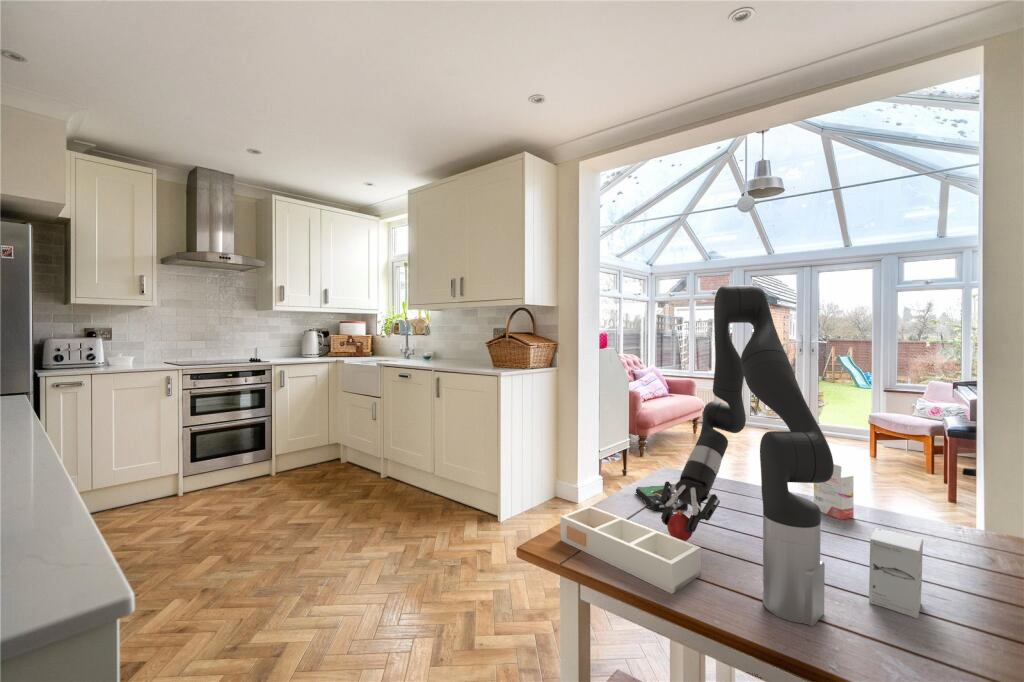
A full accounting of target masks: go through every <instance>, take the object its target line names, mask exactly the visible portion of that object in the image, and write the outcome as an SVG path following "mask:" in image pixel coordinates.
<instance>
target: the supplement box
mask: <svg viewBox="0 0 1024 682" xmlns="http://www.w3.org/2000/svg"><path fill="white" fill-rule="evenodd" d="M869 541H870V542H869V572H868V573H869V577H868V578H869V580H868V581H869V582H868V583H869V584H868V604H871V605H877V606H880V607H882V608H885V609H889V610H892V611H894V612H897V613H900V614H904V615H906V616H909V617H911V618H915V619H919V615H920V609H921V605H922V604H921V603H922V589H923V588H922V585H923V548H924V539H923V538H921V537H916V536H912V535H907V534H903V533H899V532H895V531H891V530H887V529H882V528H878V527H874V530H873V532H872V534H871V537H870V539H869Z"/></svg>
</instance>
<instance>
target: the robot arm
mask: <svg viewBox="0 0 1024 682" xmlns="http://www.w3.org/2000/svg"><path fill="white" fill-rule="evenodd" d="M713 303H714V305H713V320H714V321H713V323H714V324H713V325H714V331H713V332H714V350H715V352H714V353H715V354H714V355H715V356H714V357H715V362H714V363H715V365H714V373H713V374H714V375H713V384H712V393H713V395H714V396H715V397H717V398H718V399H720V400H722V401H723V402H720V401H715V400H713V401H710V402H707V403H706V405H705V406H704V408H703V411H702V424H701V429H700V434H699V437H698V439H697V441H696V443H695V446H694V447H693V449H692V450H691V452H690V454H689V456H688V459H687V461H686V463H685V465H684V467H683V469H682V472H681V474H680V477H679V481H678V482H676V483H670V481H665V482H664V485H663V486H664V489H663V492H662V496H661V499H660V501H661V503H662V504H663V505H664V507H665V509H664V511H662V513H661V514H662V515H660V517H661V518H660V519H661V522H662V524H664V525H666V526H667V525H668V521H669V519H670V517H671V516H672V515H674V511H676V510H675V509H676V508H677V507H680V506H681V505H682V504H683V503H684V504H688V506H690V507H692V508H691V509H692V514H691V515H690V516H689V521H688V523H687V526H686V531H687V532H688V533H690V534H692V532H693V533H695V532H696V530H697V527H698V525H699V522H700V521H701V520H705V521H709V520H710V519H711V518H712V516H713V514H714V513H715V511H716V510H717V508H718V506H719V504H720V503H721V501H720V499H719V498H718V496H717V495H716V494H715V493H712V494H711V493H710V492H711V490H712V488H713V486H714V483H715V480H716V478H717V476H718V474H719V472H720V467H721V465H722V461H723V458H724V455H725V453H726V451H727V448H728V446H729V440H728V438H727V437H726V435H724V434H723V433H721V432H720V431H718V430H721V431H725V432H728V433H732V434H738V433H740V432H742V430H743V429H744V428H745V426H746V422H747V415H746V410H745V407H744V400H743V399H744V398H743V385H744V380H745V383H746V385H747V387H748V389H749V390H750V392H751V393H752V394H753V395H754V396H755V397H756V398H757V399H758V400H759V401H761V402H762V403H763V404H764V405H765V406H767V407H768V408H769V409H771V410H772V411H773V412H774V413H775V414H776V415H778V417H780V418H781V419H782V421H783V422H784V423H785V425H786V426H787V427H788V430H789V431H787V430H786V431H783V430H781V431H780V430H778V431H777V430H772V431H766V432H765V433H764V434H763V435H762V437H761V440H760V444H759V461H760V479H761V498H762V500H761V501H762V513H763V514H762V604H763V606H764V607H765V608H766V610H767V611H769V612H770V613H771V614H773V615H775V616H777V617H778V618H780V619H783V620H786V621H789V622H793V623H799V624H805V625H808V626H810V627H814V626H815V625H816V623H817V622H818V621H819V620H820V619H821V618H822V617H823V616H824V614H825V587H826V586H825V574H826V573H825V570H826V568H825V565H826V564H825V562H824V561H821V544H822V543H821V536H822V535H821V534H822V533H821V532H822V531H821V528H822V527H821V526H822V523H821V522H822V521H821V520H822V517H821V516H822V514H821V513H822V512H821V511H820V508H819V507H818V506H817V505H816V504H815V503H814V501H812V500H810V499H807V498H805V497H803V496H800V495H797V494H794V493H792V492H790V491H789V486H788V485H789V484H788V483H795V484H796V483H798V484H799V483H801V484H803V483H804V484H808V483H809V484H814V483H823V482H827V481H828V480H830V479H831V477H832V475H833V471H834V459H833V454H832V451H831V448H830V445H829V444H828V441H827V440H826V437H825V435H824V433H823V431H822V430H821V428H820V426H819V423H818V422H817V421H816V419H815V417H814V414H813V413H812V411H811V410H810V407H809V405H808V403H807V402H806V399H805V398H804V395H803V393H802V390H801V388H800V386H799V383H798V381H797V378H796V376H795V372H794V369H793V367H792V365H791V362H790V360H789V357H788V355H787V353H786V351H785V349H784V346H783V345H782V342H781V339H780V337H779V335H778V331H777V330H776V326H775V322H774V320H773V316H772V315H773V314H772V313H771V308H770V306H769V305H770V304H769V301H768V298H767V295H766V293H765V291H764V290H763V288H762V287H761V286H758V285H750V284H747V285H746V284H745V285H739V284H738V285H723V286H722V285H721V286H720V287H719V288H718V289H717V291H716V293H715V297H714V302H713ZM734 323H735V324H739V323H741V324H742V323H743V324H744V323H747V324H750V325H752V327H753V332H752V334H751V337H750V338H749V340H748V342H747V343H746V344H745V347H744V348H743V351H742V352H741V355H740V354H739V352H738V351H737V350H736V347H735V345H734V343H733V340H731V336H730V324H734ZM724 402H725V403H724ZM716 429H717V430H716ZM674 492H675V493H674ZM672 493H674V494H673V495H672ZM671 495H672V496H671ZM678 498H679V500H677V499H678ZM705 501H707V502H706V504H705V505H704V506H703V505H702V503H703V502H705ZM702 506H703V507H702ZM692 535H693V534H692Z"/></svg>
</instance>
